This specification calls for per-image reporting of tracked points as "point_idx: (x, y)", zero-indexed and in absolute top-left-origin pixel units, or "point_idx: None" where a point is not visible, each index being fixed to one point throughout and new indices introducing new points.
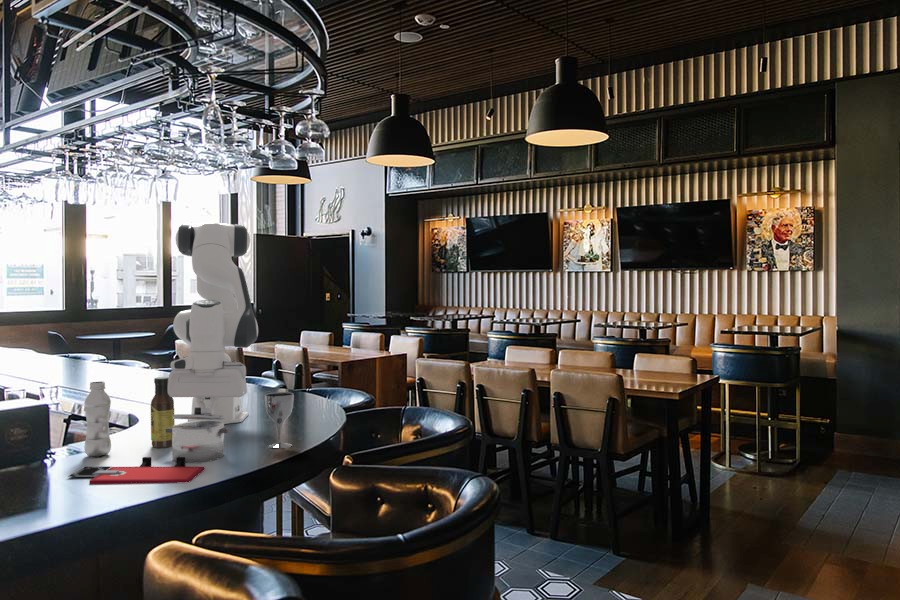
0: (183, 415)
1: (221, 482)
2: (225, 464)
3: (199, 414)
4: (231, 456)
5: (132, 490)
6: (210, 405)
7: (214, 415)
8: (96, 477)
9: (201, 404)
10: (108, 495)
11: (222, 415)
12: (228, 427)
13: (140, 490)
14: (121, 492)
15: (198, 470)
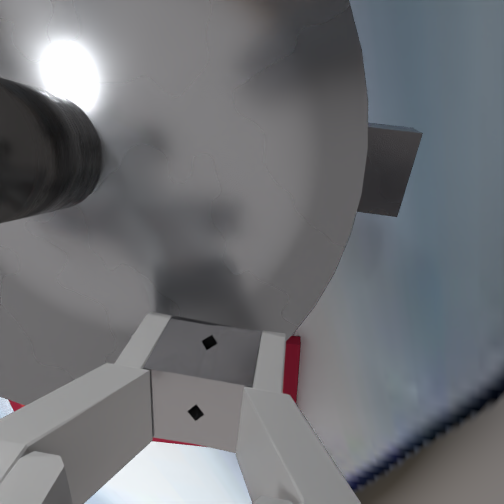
0: (16, 392)
1: (392, 465)
2: (371, 275)
3: (70, 204)
4: (377, 117)
5: (172, 476)
6: (251, 496)
7: (294, 329)
8: (17, 408)
9: (106, 477)
10: (139, 493)
11: (361, 192)
12: (399, 130)
13: (192, 479)
14: (155, 482)
15: (292, 383)
